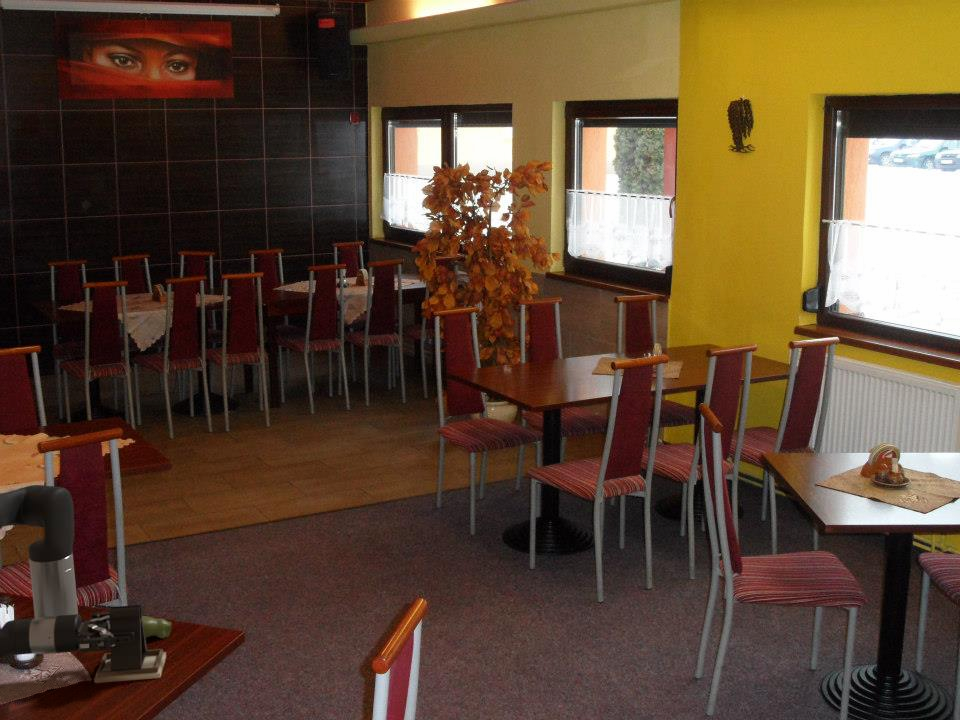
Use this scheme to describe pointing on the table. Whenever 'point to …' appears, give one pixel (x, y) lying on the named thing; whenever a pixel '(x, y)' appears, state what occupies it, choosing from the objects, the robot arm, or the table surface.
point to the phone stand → (129, 653)
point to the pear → (156, 627)
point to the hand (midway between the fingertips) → (137, 628)
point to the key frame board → (148, 671)
